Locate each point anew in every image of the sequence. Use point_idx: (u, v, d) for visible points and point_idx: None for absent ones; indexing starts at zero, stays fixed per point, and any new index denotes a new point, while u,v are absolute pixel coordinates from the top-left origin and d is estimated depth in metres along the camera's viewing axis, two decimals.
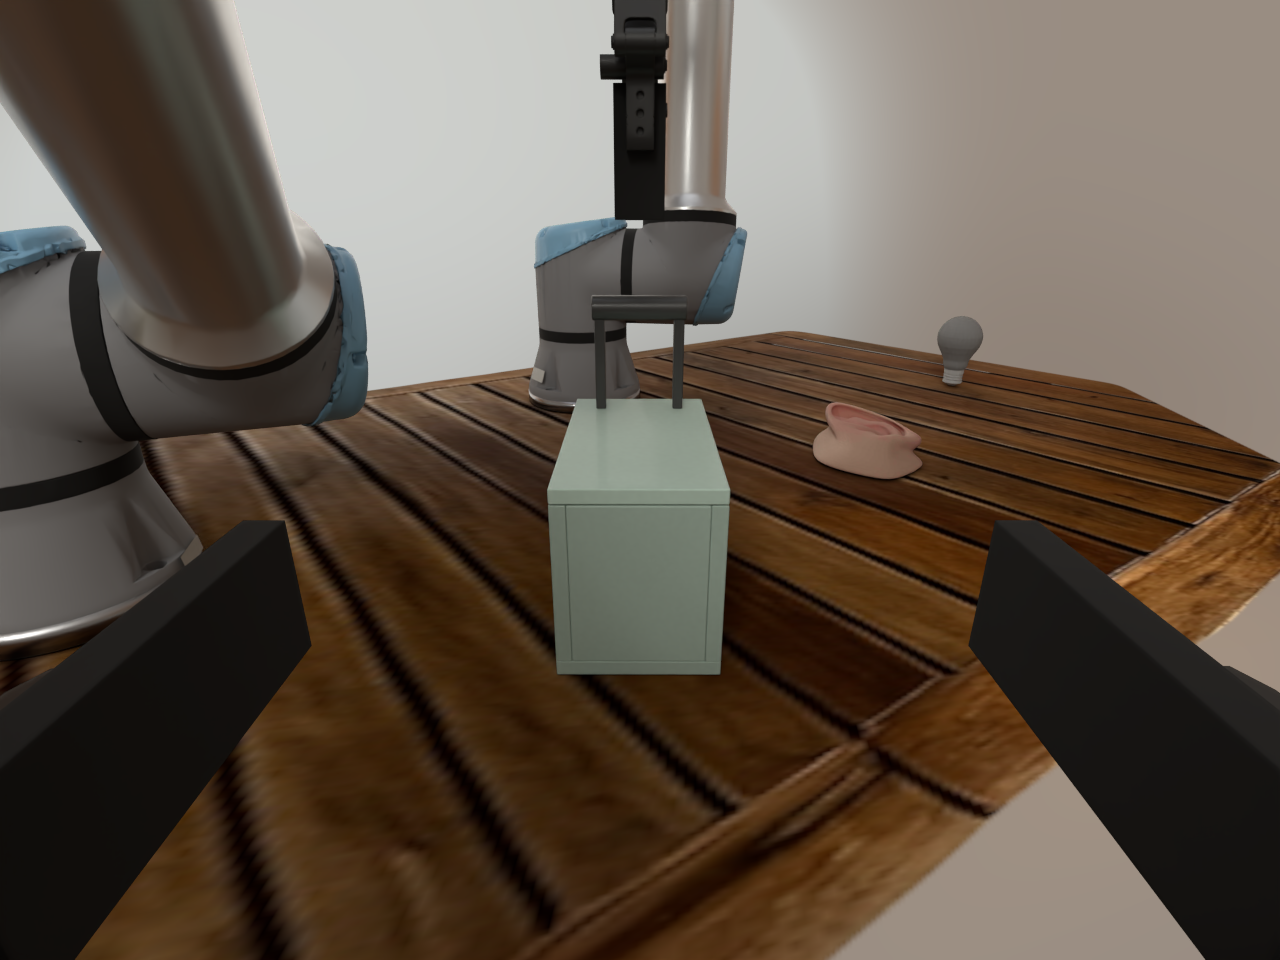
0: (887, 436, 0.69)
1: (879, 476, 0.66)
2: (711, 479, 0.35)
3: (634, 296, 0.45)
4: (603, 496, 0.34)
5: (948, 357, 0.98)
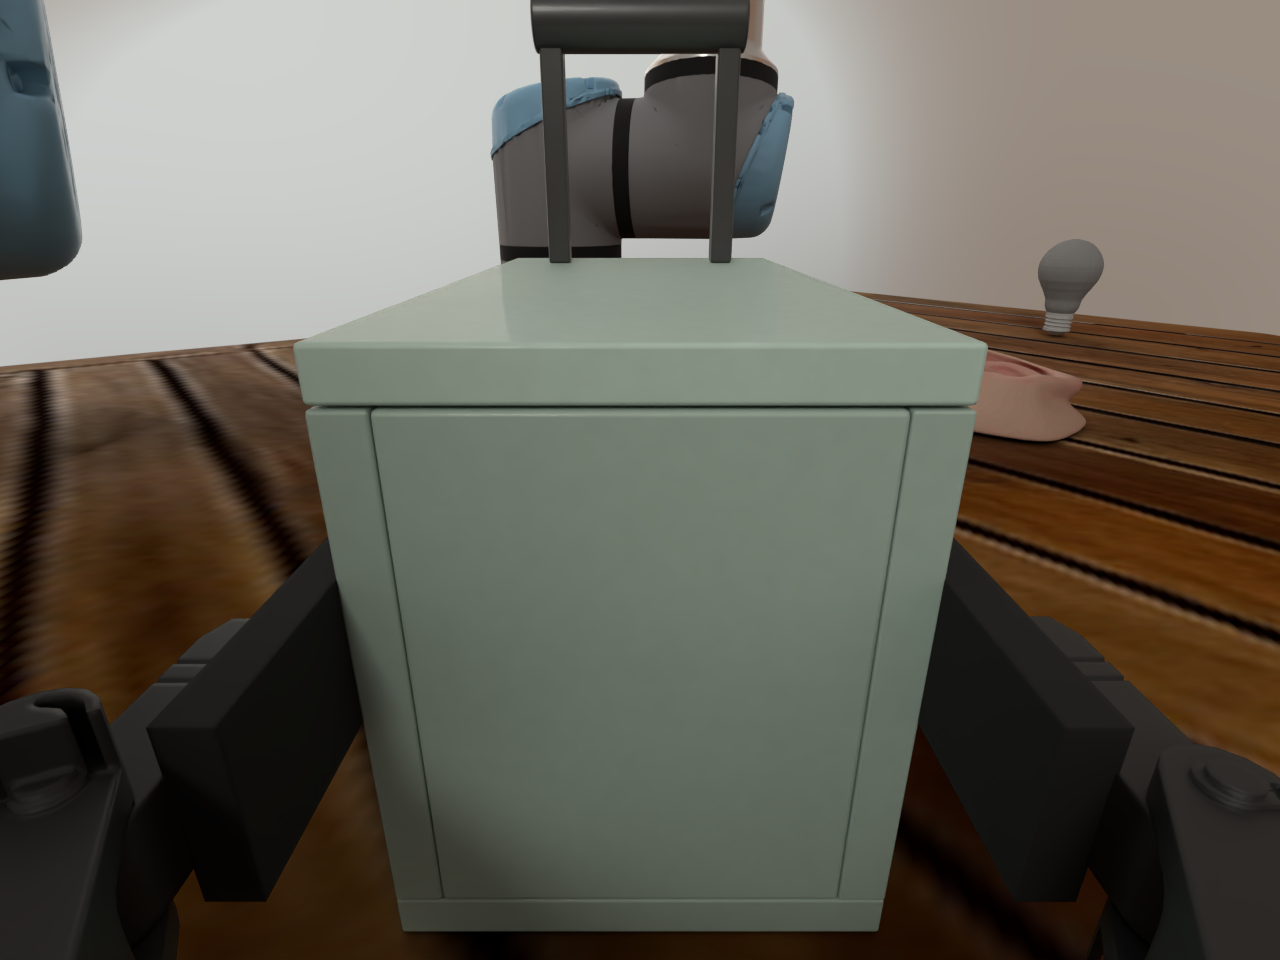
0: (1031, 377, 0.44)
1: (1030, 437, 0.40)
2: (891, 326, 0.10)
3: None
4: (507, 372, 0.09)
5: (1055, 295, 0.73)
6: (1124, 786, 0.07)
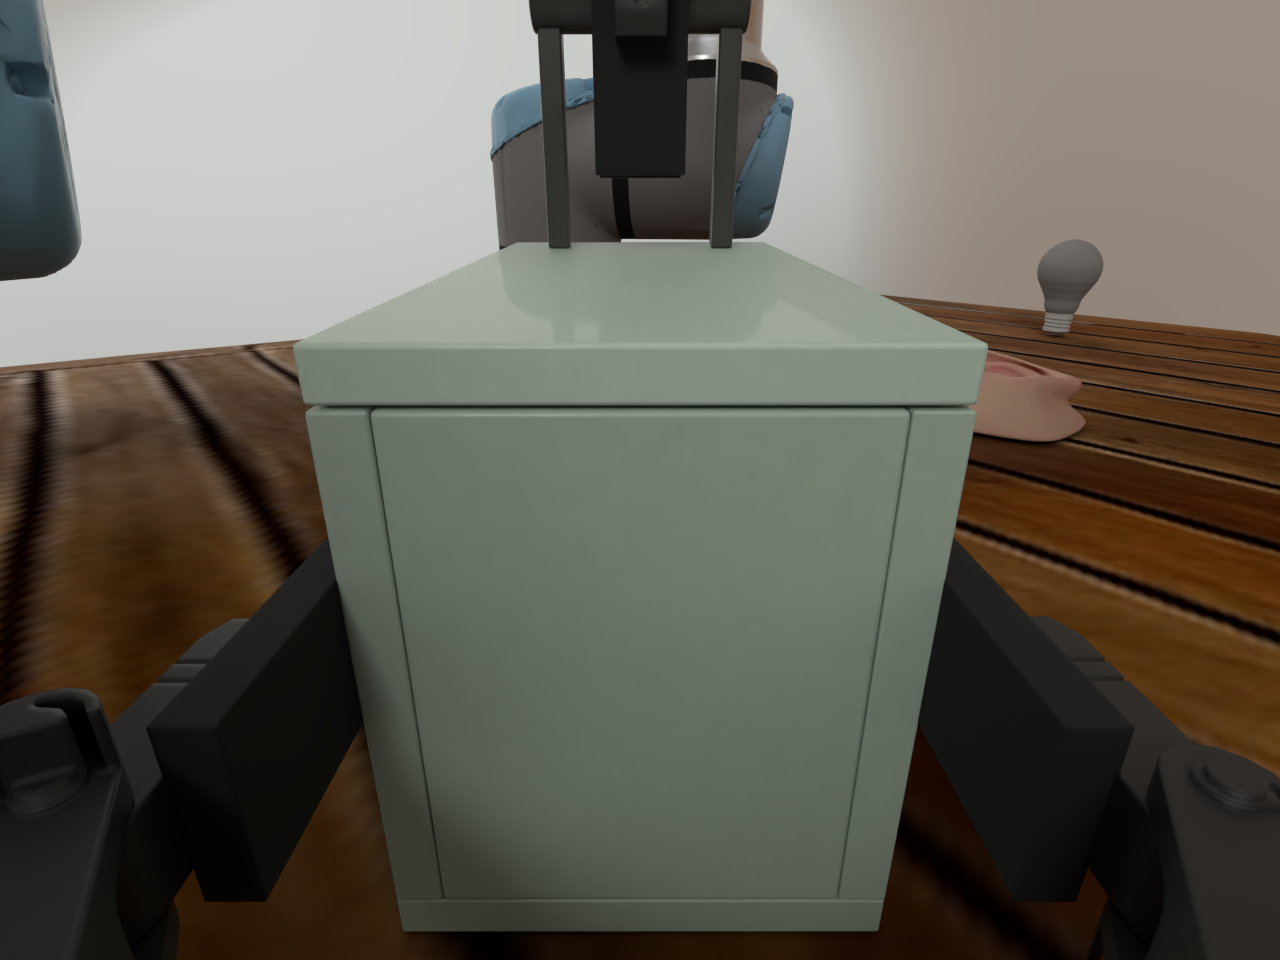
0: (1031, 377, 0.44)
1: (1029, 437, 0.40)
2: (891, 323, 0.10)
3: None
4: (507, 373, 0.09)
5: (1054, 295, 0.73)
6: (1124, 787, 0.07)
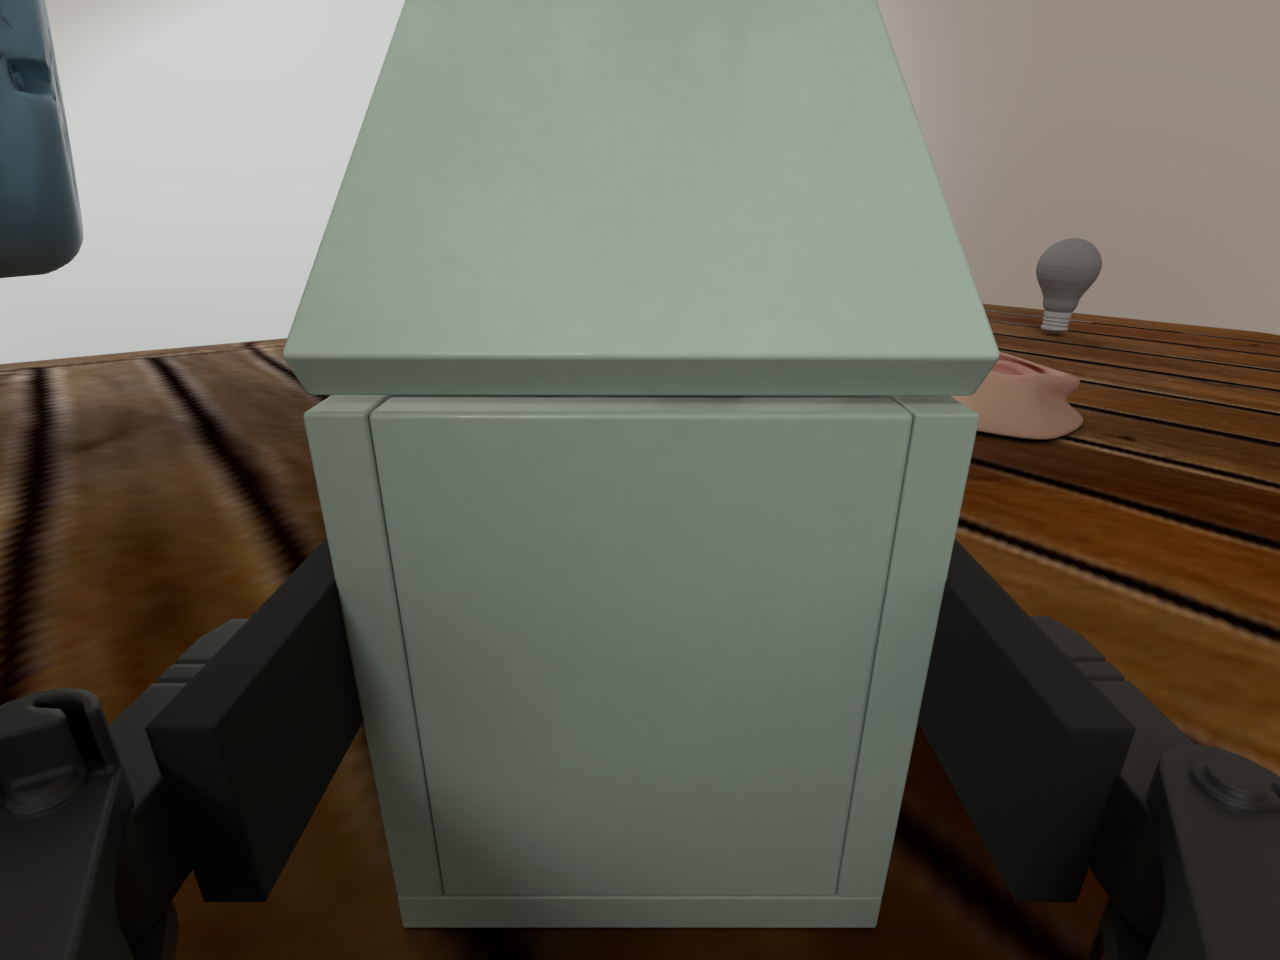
0: (1029, 376, 0.44)
1: (1027, 435, 0.40)
2: (915, 278, 0.09)
3: None
4: (506, 375, 0.09)
5: (1053, 294, 0.73)
6: (1126, 787, 0.07)
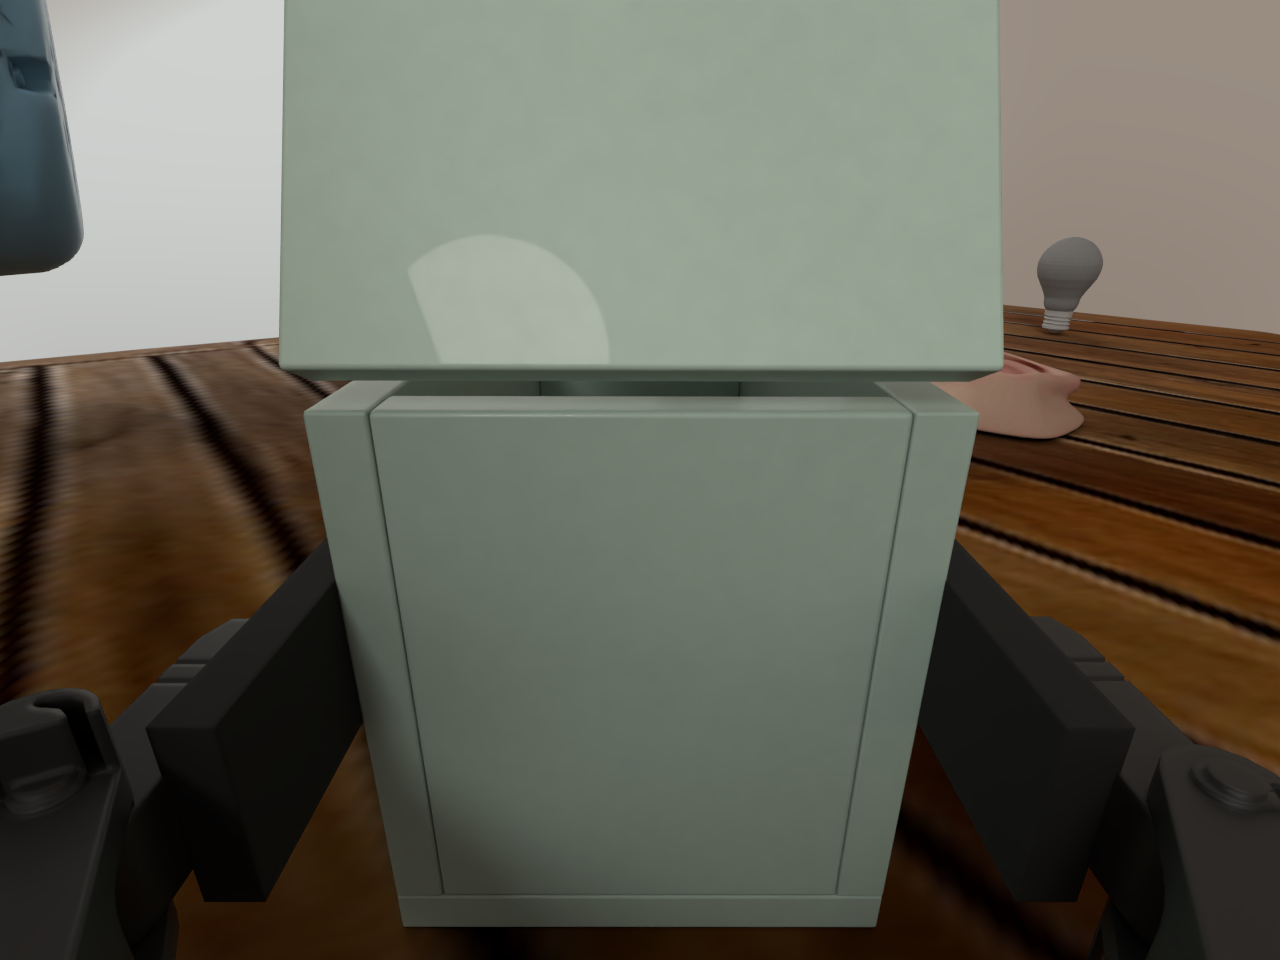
0: (1030, 375, 0.44)
1: (1028, 434, 0.40)
2: (938, 261, 0.09)
3: None
4: (506, 375, 0.09)
5: (1054, 293, 0.73)
6: (1124, 787, 0.07)
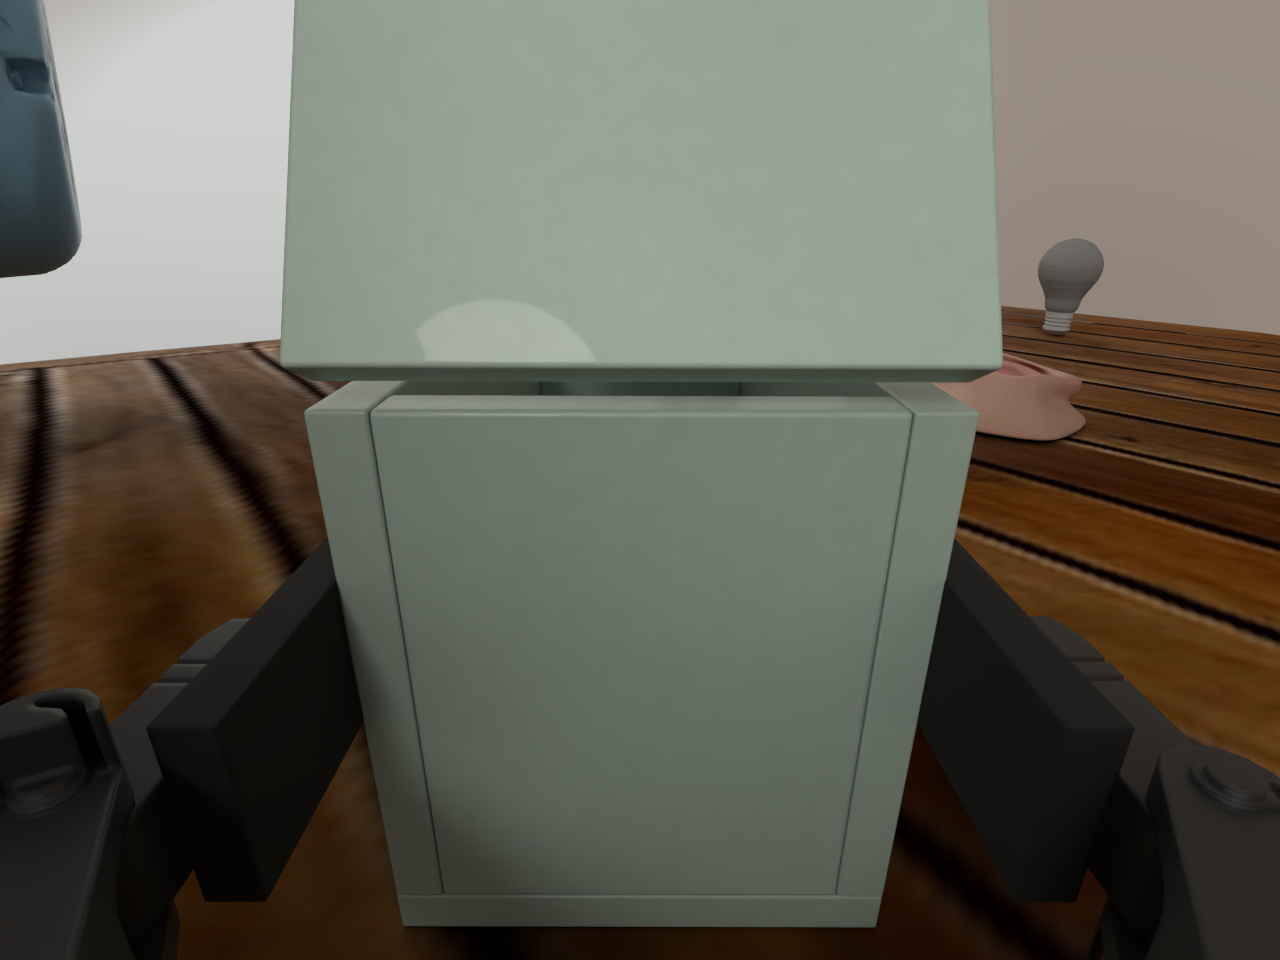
0: (1031, 376, 0.44)
1: (1029, 436, 0.40)
2: (936, 261, 0.09)
3: None
4: (506, 374, 0.09)
5: (1054, 294, 0.73)
6: (1124, 787, 0.07)
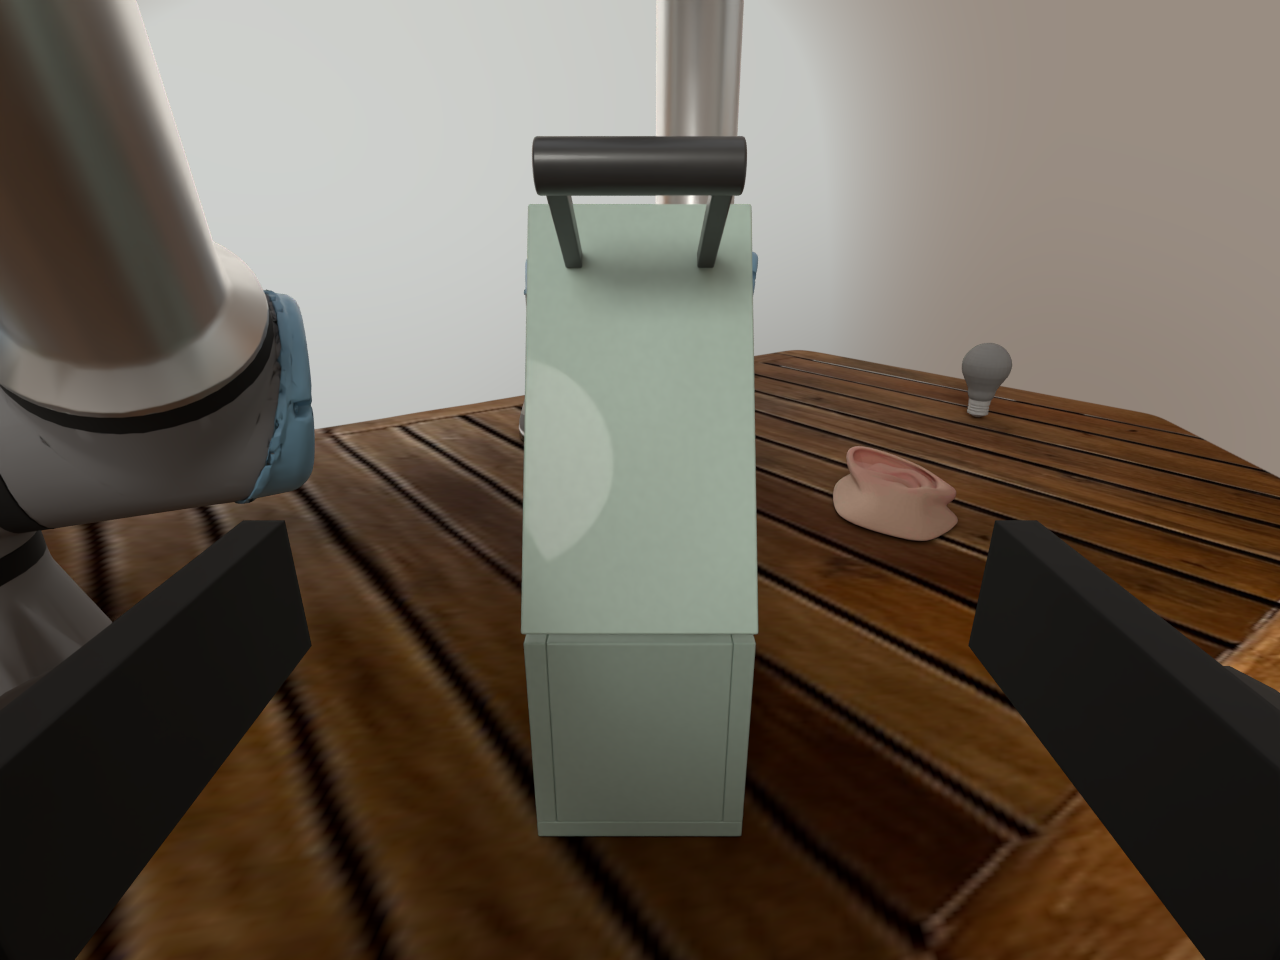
0: (919, 489, 0.61)
1: (911, 537, 0.58)
2: (736, 598, 0.26)
3: (628, 158, 0.20)
4: None
5: (974, 387, 0.91)
6: None
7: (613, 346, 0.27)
